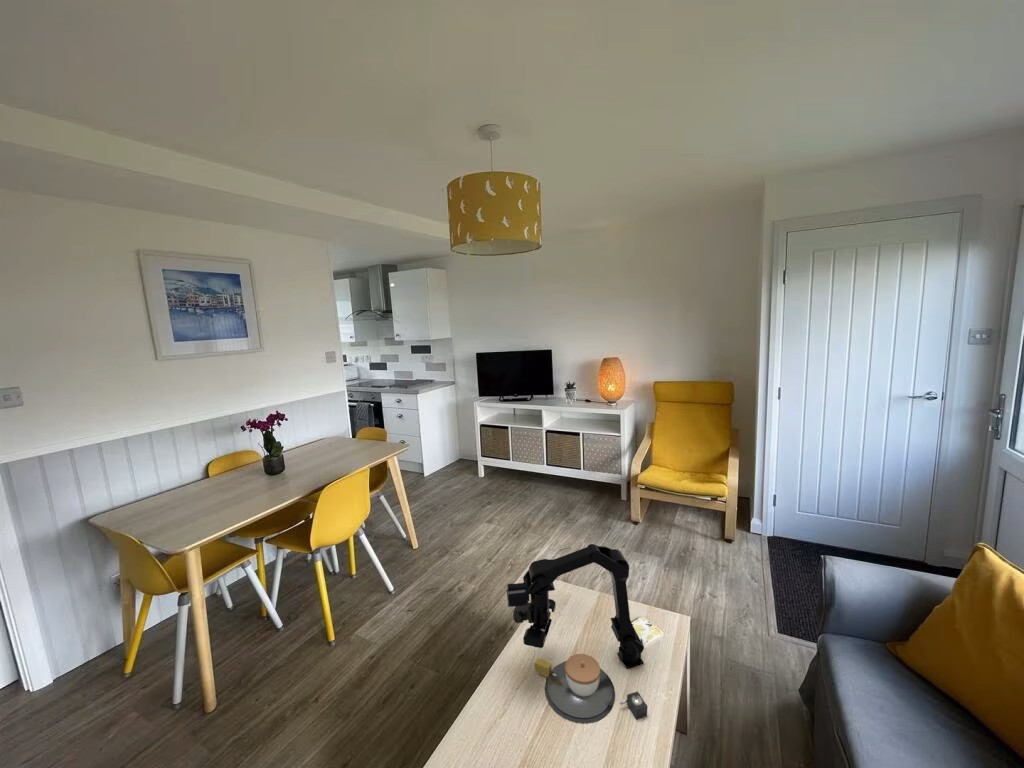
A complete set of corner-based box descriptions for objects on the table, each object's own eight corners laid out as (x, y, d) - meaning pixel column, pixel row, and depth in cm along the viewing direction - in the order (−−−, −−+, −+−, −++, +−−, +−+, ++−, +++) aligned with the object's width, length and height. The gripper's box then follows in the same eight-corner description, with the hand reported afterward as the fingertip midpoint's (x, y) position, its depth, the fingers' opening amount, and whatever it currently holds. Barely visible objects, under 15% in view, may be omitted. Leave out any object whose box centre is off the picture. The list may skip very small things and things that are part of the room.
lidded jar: (571, 707, 127) (571, 679, 125) (561, 678, 137) (560, 652, 136) (605, 700, 129) (605, 673, 127) (592, 672, 139) (592, 646, 138)
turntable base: (594, 653, 146) (594, 653, 146) (628, 710, 126) (628, 709, 126) (535, 671, 140) (535, 670, 140) (561, 733, 120) (561, 732, 120)
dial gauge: (637, 701, 129) (637, 690, 128) (647, 716, 124) (647, 705, 123) (618, 707, 127) (618, 696, 126) (627, 722, 122) (627, 712, 122)
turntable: (620, 676, 137) (620, 667, 136) (600, 731, 120) (600, 721, 119) (549, 647, 149) (549, 639, 148) (521, 693, 132) (521, 683, 132)
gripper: (523, 579, 147) (525, 618, 150) (506, 617, 129) (508, 661, 132) (555, 584, 143) (556, 625, 146) (542, 624, 126) (543, 669, 129)
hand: (541, 643), depth 139 cm, fingers closed
